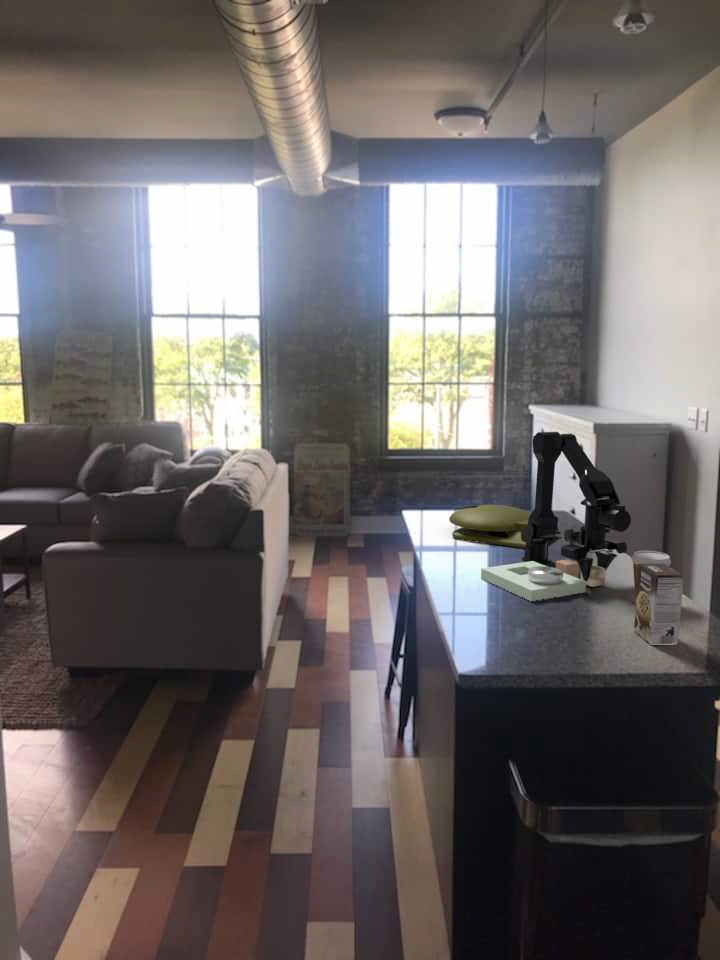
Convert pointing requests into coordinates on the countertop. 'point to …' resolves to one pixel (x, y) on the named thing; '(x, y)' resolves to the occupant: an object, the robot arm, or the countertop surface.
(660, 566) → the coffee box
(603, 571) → the birch cube
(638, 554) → the disposable coffee cup
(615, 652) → the countertop surface
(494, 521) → the spaceship
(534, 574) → the metal puck
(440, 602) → the countertop surface
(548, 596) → the pocket deck
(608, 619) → the countertop surface
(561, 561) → the terracotta cube
